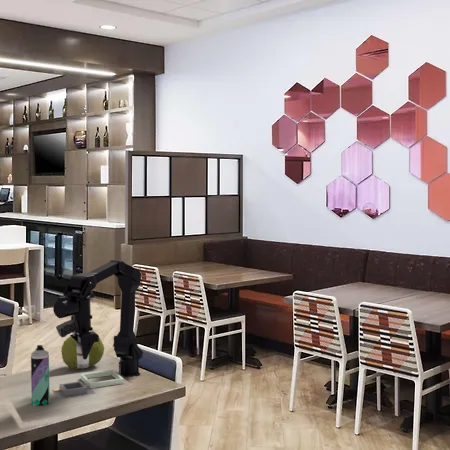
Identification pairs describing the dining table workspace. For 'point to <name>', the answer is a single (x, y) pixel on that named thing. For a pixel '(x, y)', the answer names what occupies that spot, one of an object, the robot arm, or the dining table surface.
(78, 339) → the robot arm
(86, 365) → the cylinder
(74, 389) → the holder
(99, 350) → the fruit
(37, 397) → the spray can
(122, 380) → the tray
